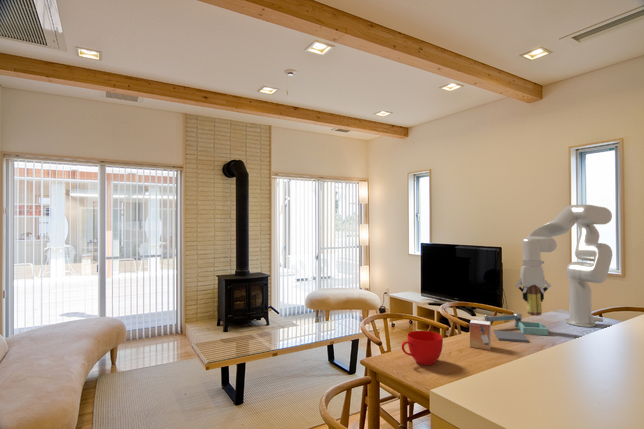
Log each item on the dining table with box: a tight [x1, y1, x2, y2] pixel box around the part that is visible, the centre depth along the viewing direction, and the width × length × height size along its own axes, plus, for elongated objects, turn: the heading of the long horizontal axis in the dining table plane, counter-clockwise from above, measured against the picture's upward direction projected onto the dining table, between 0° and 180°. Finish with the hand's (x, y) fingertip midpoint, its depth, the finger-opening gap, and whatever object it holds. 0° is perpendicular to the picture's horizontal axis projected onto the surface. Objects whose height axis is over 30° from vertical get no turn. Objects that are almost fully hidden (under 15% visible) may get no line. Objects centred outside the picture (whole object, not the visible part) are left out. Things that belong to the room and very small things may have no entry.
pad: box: [493, 330, 529, 343], centre depth 174 cm, size 12×12×1 cm
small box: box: [469, 319, 492, 351], centre depth 161 cm, size 8×6×10 cm
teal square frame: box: [514, 319, 549, 336], centre depth 184 cm, size 12×14×4 cm
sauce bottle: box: [525, 285, 543, 317], centre depth 184 cm, size 7×6×20 cm
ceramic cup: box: [401, 330, 444, 366], centre depth 144 cm, size 13×17×10 cm
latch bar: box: [483, 312, 523, 322], centre depth 189 cm, size 4×21×3 cm, turn 104°
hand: (533, 300), depth 184 cm, fingers closed on sauce bottle, 6 cm apart
